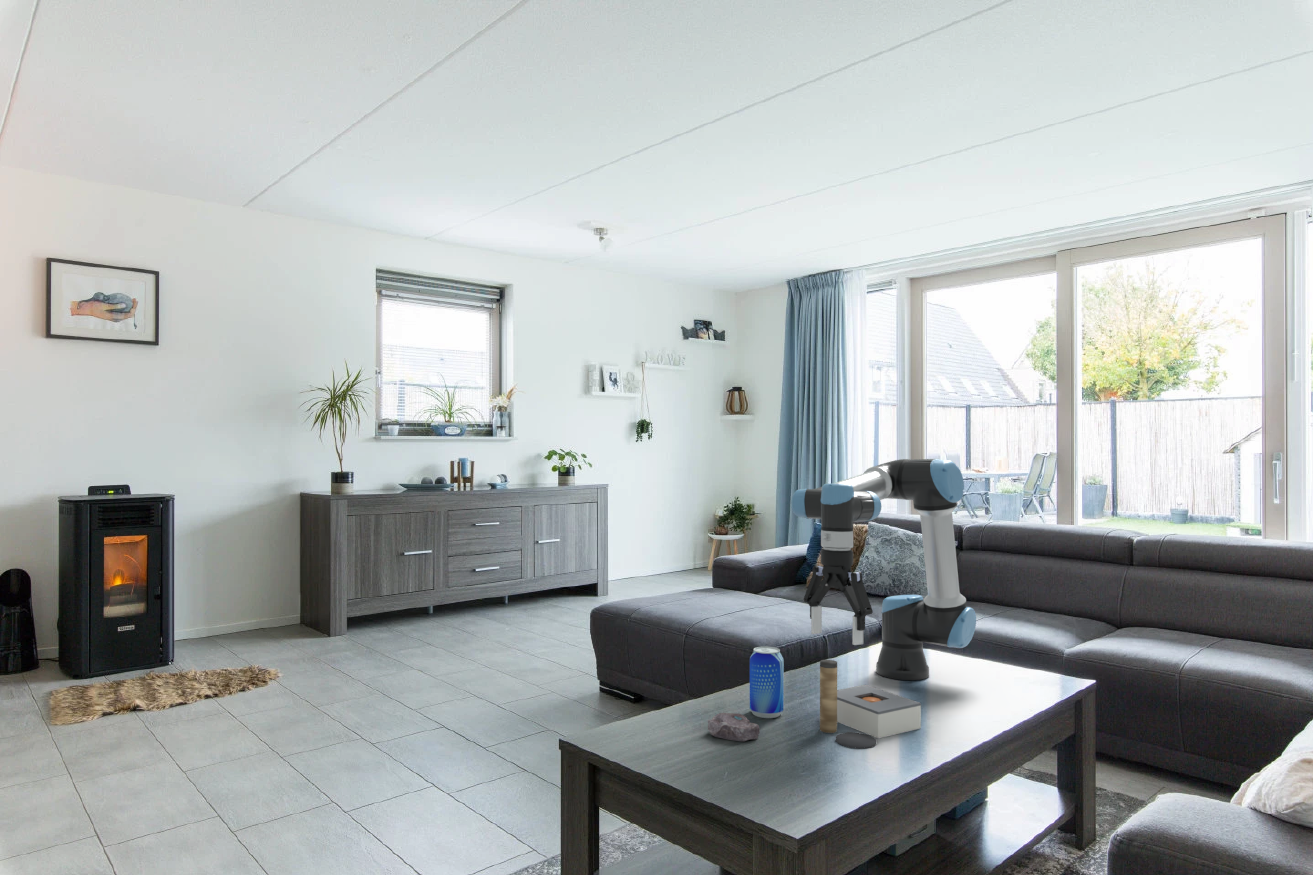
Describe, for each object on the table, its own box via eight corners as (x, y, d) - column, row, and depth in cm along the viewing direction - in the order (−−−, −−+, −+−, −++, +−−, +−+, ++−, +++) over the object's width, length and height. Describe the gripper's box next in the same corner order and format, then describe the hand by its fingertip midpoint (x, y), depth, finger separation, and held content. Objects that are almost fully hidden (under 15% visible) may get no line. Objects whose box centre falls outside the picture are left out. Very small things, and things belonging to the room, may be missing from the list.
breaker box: (824, 716, 204) (824, 692, 204) (865, 708, 211) (865, 684, 211) (878, 738, 188) (878, 711, 188) (920, 728, 195) (920, 702, 195)
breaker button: (858, 706, 200) (858, 698, 200) (871, 703, 203) (871, 695, 203) (871, 711, 196) (871, 703, 197) (884, 708, 199) (884, 700, 199)
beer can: (787, 711, 208) (787, 647, 208) (777, 720, 200) (778, 654, 200) (755, 706, 211) (755, 644, 212) (745, 716, 204) (745, 651, 204)
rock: (749, 746, 183) (749, 725, 183) (703, 737, 189) (703, 717, 189) (763, 735, 190) (763, 715, 190) (718, 727, 196) (719, 708, 196)
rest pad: (827, 738, 187) (827, 736, 187) (856, 732, 192) (856, 729, 192) (855, 751, 180) (855, 748, 180) (885, 744, 184) (885, 741, 184)
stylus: (816, 728, 194) (816, 660, 195) (828, 726, 196) (829, 658, 197) (827, 733, 191) (828, 664, 191) (840, 731, 193) (840, 662, 193)
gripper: (789, 544, 204) (789, 630, 203) (865, 554, 182) (864, 650, 182) (812, 543, 208) (811, 627, 207) (888, 553, 186) (888, 647, 186)
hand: (836, 638), depth 194 cm, fingers open, 13 cm apart
